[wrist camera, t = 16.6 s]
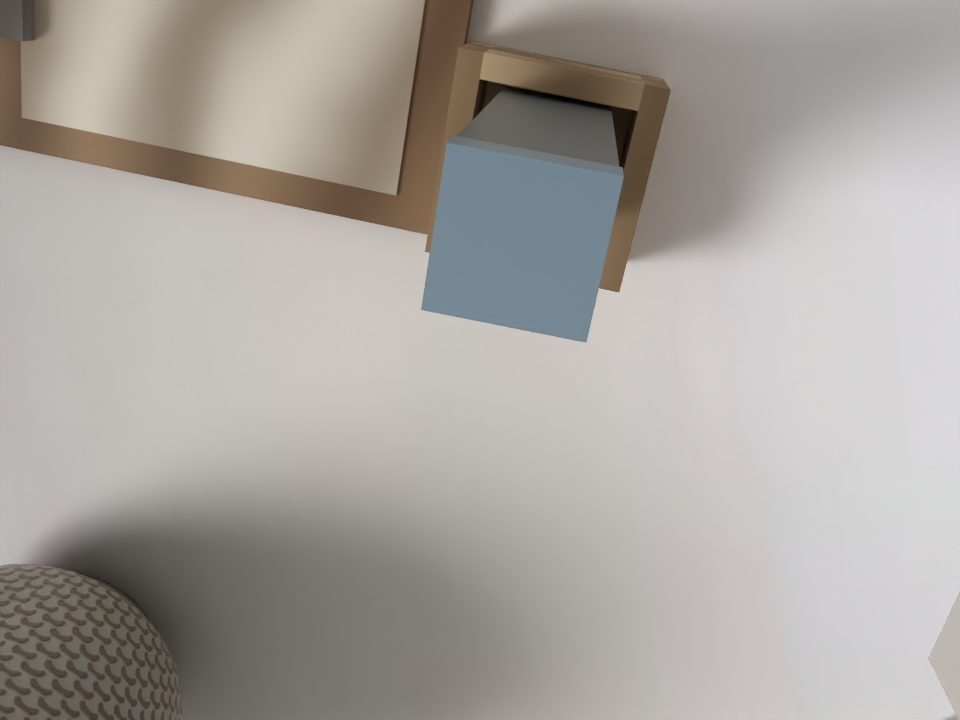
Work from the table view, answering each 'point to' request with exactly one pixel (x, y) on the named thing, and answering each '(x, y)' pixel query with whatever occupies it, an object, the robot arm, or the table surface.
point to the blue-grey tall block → (526, 215)
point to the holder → (627, 94)
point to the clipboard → (242, 95)
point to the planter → (79, 651)
